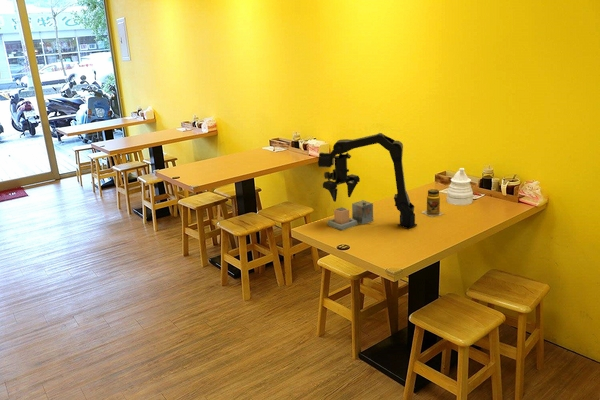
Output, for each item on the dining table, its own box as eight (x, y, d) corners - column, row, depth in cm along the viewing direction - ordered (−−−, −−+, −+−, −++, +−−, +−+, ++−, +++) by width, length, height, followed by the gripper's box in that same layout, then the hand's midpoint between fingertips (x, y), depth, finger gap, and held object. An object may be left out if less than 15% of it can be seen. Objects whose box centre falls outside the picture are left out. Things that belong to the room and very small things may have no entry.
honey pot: (475, 204, 259) (477, 170, 253) (450, 205, 259) (451, 171, 254) (468, 196, 271) (469, 164, 265) (443, 198, 271) (444, 165, 266)
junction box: (373, 221, 244) (373, 202, 241) (363, 225, 240) (362, 205, 237) (362, 217, 250) (362, 198, 247) (351, 220, 247) (351, 202, 244)
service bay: (357, 225, 241) (357, 220, 240) (341, 230, 235) (341, 226, 235) (343, 219, 249) (343, 215, 248) (327, 225, 243) (327, 220, 242)
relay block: (349, 223, 241) (349, 208, 239) (341, 226, 238) (340, 211, 236) (342, 220, 245) (342, 206, 243) (334, 223, 242) (334, 208, 240)
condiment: (431, 217, 245) (431, 193, 242) (420, 212, 253) (421, 189, 249) (443, 214, 248) (444, 190, 244) (432, 209, 255) (433, 186, 252)
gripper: (344, 160, 247) (345, 191, 252) (314, 168, 237) (316, 200, 242) (360, 164, 239) (360, 196, 244) (330, 172, 228) (331, 205, 233)
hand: (342, 199), depth 241 cm, fingers open, 9 cm apart
